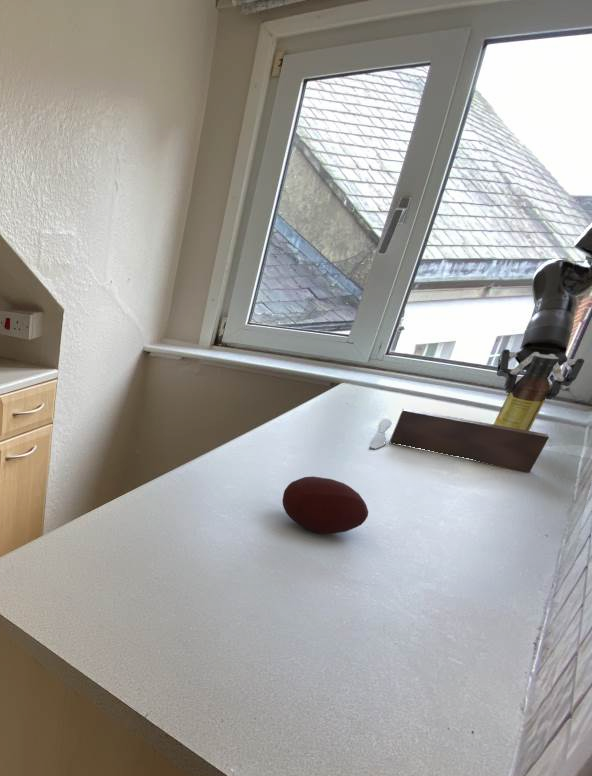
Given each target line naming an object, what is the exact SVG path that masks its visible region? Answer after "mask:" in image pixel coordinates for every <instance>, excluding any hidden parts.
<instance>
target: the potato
mask: <svg viewBox="0 0 592 776" xmlns="http://www.w3.org/2000/svg"><path fill="white" fill-rule="evenodd" d="M281 502H282V506H283V509H284V512H285V513H286V515H287V516H288V517H289V518H290V519H291V520H292V521H293V522H295V523H296V525H299V526H301V527H302V528H304V529H307V530H309V531H312V532H314V533H317V534H325V535H330V534H337V533H346V532H348V531H350V530H351V531H352V530H353V529H356V528H358V527H360V526H362V525H363V524H364V523H365V521H366V520H367V519H368V516H369V509H368V506H367V503H366V502H365V500H364V499H363V498H362V495H360V493H359V492H357V491H356V490H354V489H353V488H352V487H351V486H349V485H348V484H346V483H345V482H341V481H339V480H335V479H332V478H327V477H322V476H321V477H319V476H314V475H313V476H304V477H301V478H298V479H296V480H294V481H291V482H290V483H289V484H288V485H287V486H286V488H285V489H284V491H283V495H282V501H281Z"/></svg>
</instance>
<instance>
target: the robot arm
mask: <svg viewBox="0 0 592 776" xmlns="http://www.w3.org/2000/svg"><path fill="white" fill-rule="evenodd" d="M573 246H574V248H575V249H576V250H577V251H579V252H581V253H582V254H584V255H585V258H584V262H583V264H581V263H578V262H574V261H571V260H567V259H564V258H553V259H551V260H548V261H546V262H544V263H543V264H542V265H541V266H540V267H538V269H537V270H536V271H535V273H534V275H533V277H532V281H531V290H532V291H531V292H532V297H533V304H534V307H533V311H532V314H531V316H530V320H529V322H528V323H527V326H526V329H525V330H524V333H523V334H524V335H523V337H522V338H523V339H522V341H521V345H520V347H519V350H518V351H517V352H516V351H510V349H507V348H505V349H503V350H502V352H501V353H500V355H499V356H498V359H497V368H496V376H497V377H503V378H504V379H505V381H504V383H503V384H504V385H503V387H502V389H503V391H505V393H506V394H508V393H511V391H512V390H513V388H514V385H515V384H516V383H517V378H518V376H519V375H521V374H522V373H523V372H524V371H525V373H526V372H527V371H528V369H529V367H530V365H531V363H532V358H533V357H534V355H536V354H542V355H551V356H556V357H558V358H559V360H558V362H557V363H556V365H554V367H553V369H552V371H551V373H550V376H549V377H548V381H549V385H550V390H549V392H548V394H547V396H546V398H545V400H549V401H551V400H552V399H555V398H556V397H557V396H558V394H559V393H560V391H561V387H562V386H565V387H569V386H570V385H572V383H573V382H575V380H576V379H577V377H578V376H579V374H580V371H581V370H582V367H583V365H584V363H585V360H584V359H583V358H577V359H571V358H568V356H567V350H568V347H569V343H570V339H571V337H572V333H573V329H574V325H575V324H574V323H575V321H574V320H575V316H576V313H577V309H578V306H579V298H578V297H580V296H581V295H583V294H585V293H586V292H588V291H589V290H590V289H591V288H592V223H590V225H588V226H587V228H586V229H585V230H584V231H583V232H582V233H581V234H580V235H579V237H578V238H577V239H576V240H575V242H574V244H573ZM513 359H514V360H515V361H516V362H517V363H518V365H516V367H514V368H513V369H509V362H510V361H512V360H513ZM563 365H565V367H566V370H567V371H568V372H567V374H566V376H565V377H564V376H563V373H562V368H561V367H562V366H563Z"/></svg>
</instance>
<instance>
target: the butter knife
mask: <svg viewBox="0 0 592 776" xmlns="http://www.w3.org/2000/svg"><path fill="white" fill-rule="evenodd" d="M391 425H392V420H391V419H389V418H382V419H381V420H380V423H379V428H378V431H377V433H376V434H375V436H374V438H373V439H372V441H371V444H370V446H369V448H371V449H374V450H376V449H379V448H381V447H383V446H384V442H385V440H387V439H386V433H385V432H386V431H387V429H388V428H389V427H390V426H391ZM385 443H386V442H385Z"/></svg>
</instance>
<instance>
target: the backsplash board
mask: <svg viewBox="0 0 592 776" xmlns="http://www.w3.org/2000/svg"><path fill="white" fill-rule="evenodd" d="M549 439H550V436H549V435H548V433H543V432H538V431H531V430H529V431H527V430H521V429H516V428H510V427H505V426H499V425H494V423H493V424H492V423H489V422H482V421H478V420H477V421H476V420H472V419H466V418H460V417H455V416H449V415H443V414H438V413H432V412H427V411H422V410H415V409H410V408H404V407H403V408H402V410H401V413H400V415H399V417H398V419H397V422H396V423H395V427H394V429H393V432H392V434H391V436H390V439H389V443H390V442H391V443H395V444H401V445H406V446H411V447H415V448H421V449H425V450H430V451H434V452H438V453H443V454H448V455H453V456H459V457H464V458H469V459H473V460H476V461H480V462H479V463H481V462H484V463H483V464H485V463H488V464H487V465H490V464H493V465H492V466H495V465H496V467H500V466H501V467H500V468H504V467H505V468H504V469H510V470H514V471H519V472H524V473H527V474H528V473H529V474H530V473H531V471H532V469H533V467H534V465H535V464H536V462H537V460H538V458H539V457H540V455H541V453H542V451H543V450H544V448H545V446H546V444H547V442H548V440H549ZM395 444H394V445H395ZM438 453H437V454H438ZM443 454H442V455H443ZM476 461H475V462H476Z"/></svg>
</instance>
